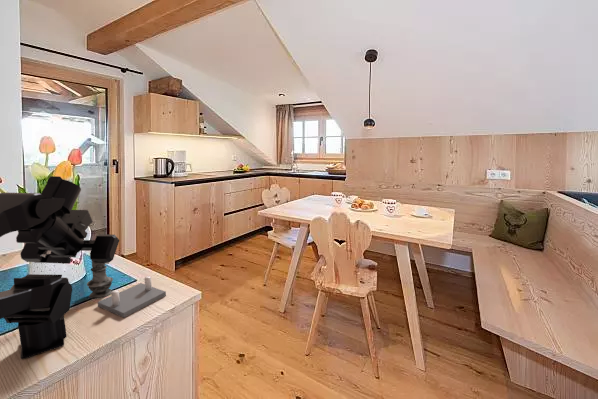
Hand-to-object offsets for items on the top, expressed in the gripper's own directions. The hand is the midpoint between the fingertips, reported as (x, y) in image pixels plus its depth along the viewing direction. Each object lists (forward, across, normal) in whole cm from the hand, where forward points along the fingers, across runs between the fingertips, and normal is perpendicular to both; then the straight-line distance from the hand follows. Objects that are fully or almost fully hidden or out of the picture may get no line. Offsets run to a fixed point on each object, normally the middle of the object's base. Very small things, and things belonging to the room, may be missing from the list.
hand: (89, 261), depth 75 cm
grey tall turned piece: (+10, 0, +5) cm, 12 cm away
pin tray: (+7, -10, +8) cm, 15 cm away
